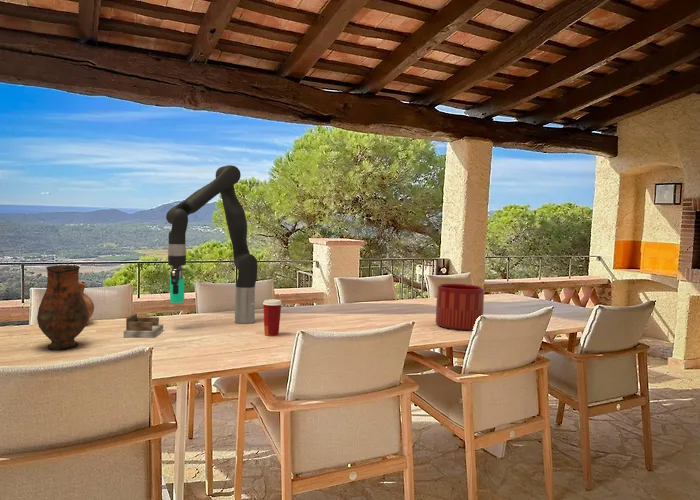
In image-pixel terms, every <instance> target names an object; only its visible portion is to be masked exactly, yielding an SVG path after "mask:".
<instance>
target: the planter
mask: <svg viewBox="0 0 700 500" xmlns="http://www.w3.org/2000/svg"><path fill="white" fill-rule="evenodd" d="M484 300H485V287H482V286H480V285H473V284H467V283H466V284H465V283H439V284H438V285H437V289H436V304H435V305H436V307H435V324H436V325H437V326H439V327H440V326H441V327H440V328H443V327H444V328H443V329H446V328H449V329H448V330H451V329H457V330H456V331H460V330H472V329H473V326H474V324H475V321H476V319H477V318H478V317H479V316H481V315H483V316H484V306H485V305H484V304H485V301H484ZM472 331H473V330H472Z"/></svg>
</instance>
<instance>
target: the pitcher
mask: <svg viewBox="0 0 700 500" xmlns="http://www.w3.org/2000/svg"><path fill="white" fill-rule="evenodd" d="M45 268H46V273H47V274H46V275H47V282H46V289H45V291H44V294H43V297H42V299H41V301H40V304H39V307H38V311H37V316H36V317H37V318H36V319H37V320H36V321H37V324H38V327H39V329H40V331H41V332H42V333H43V334H44V335H45V337H46V338H47V339H49V341H51V342H50V343H49V344H48V345H47V346H46V347H47V349H48V350H50V351H65V350H70V349H75V348H76V347H78V346H79V343H78V342H77V341H75V339H76V338H77V337H78V336H79V335H80V334H81V333H82V332H83V330H84V329H85V327H86V326H87V324H88V323H89V320H88V317H89V312H88V308H87V304H86V302H85V300H84V298H83V296H82V293H81V291H80V288H79V283H80V280H79V275H80V274H79V272H80V266H79V265H67V264H66V265H65V264H64V265H51V266H47V267H45Z"/></svg>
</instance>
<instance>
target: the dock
mask: <svg viewBox="0 0 700 500" xmlns="http://www.w3.org/2000/svg"><path fill="white" fill-rule="evenodd" d="M125 322H126V323H125V325H126V326H125V329H124V331H123V338H125V339H127V338H130V339H131V338H132V339H134V338H137V339H138V338H140V339H141V338H143V339H144V338H145V339H155V338H156V337H157V336H158V335H159V334H161V333H162V332H163V331H164V324H160V318H159V316H157V317H156V316H152V317H151V316H150V317H149V316H138V313H134V314H132V315H130V316H128V317H127V318H126V319H125Z"/></svg>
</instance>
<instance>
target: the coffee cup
mask: <svg viewBox="0 0 700 500" xmlns="http://www.w3.org/2000/svg"><path fill="white" fill-rule="evenodd" d="M282 304H283V303H282V301H281V300H280V299H275V298H274V299H273V298H271V299H270V298H269V299H264V300H263V303H262V305H263V325H264V327H263V328H264V336H266V337H278V335H279V333H280V323H281V312H282V311H281V310H282Z"/></svg>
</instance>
